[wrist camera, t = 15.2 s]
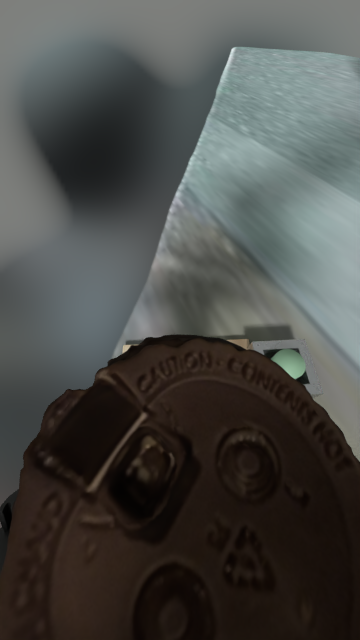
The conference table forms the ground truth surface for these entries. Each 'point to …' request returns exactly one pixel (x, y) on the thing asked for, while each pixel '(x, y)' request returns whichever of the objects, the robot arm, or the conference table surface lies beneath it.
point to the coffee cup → (185, 506)
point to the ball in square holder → (301, 347)
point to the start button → (290, 362)
